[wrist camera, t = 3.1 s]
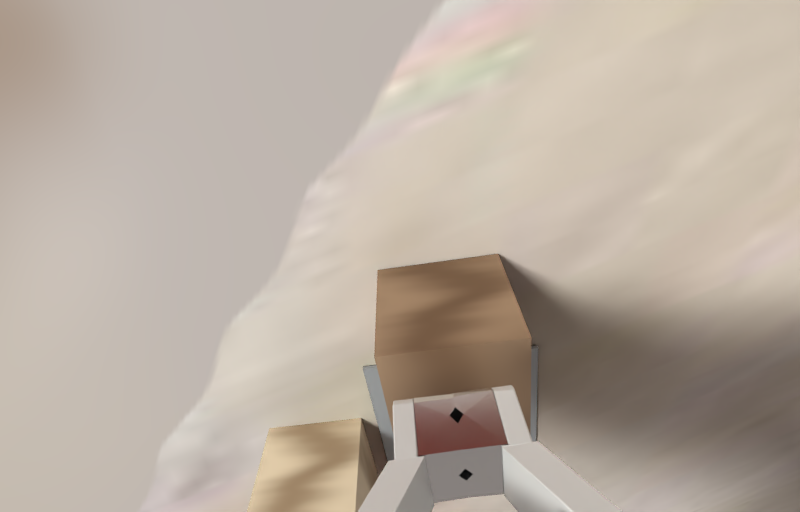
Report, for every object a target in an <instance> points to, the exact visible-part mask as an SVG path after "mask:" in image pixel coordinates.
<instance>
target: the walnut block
mask: <svg viewBox="0 0 800 512" xmlns="http://www.w3.org/2000/svg"><path fill="white" fill-rule="evenodd" d="M531 341H532V337H531V335H530V332H529V330H528V327H527V325H526V322H525V320H524V317H523V315H522V312H521V310H520V307H519V305H518V302H517V300H516V297H515V295H514V292H513V290H512V287H511V285H510V282H509V280H508V277H507V274H506V272H505V269H504V267H503V264H502V262H501V259H500V257H499V254H494V255H486V256H479V257H472V258H464V259H457V260H450V261H442V262H435V263H427V264H420V265H413V266H405V267H398V268H390V269H383V270H378V277H377V303H376V329H375V355H374V357H375V361H376V365H377V370H378V374H379V378H380V382H381V386H382V390H383V394H384V398H385V402H386V406H387V410H388V414H389V418H390V422H391V426H392V430H393V401H396V400H404V399H412V398H413V399H414V398H420V397H429V396H438V395H447V394H452V393H457V392H464V391H471V390H477V389H484V388H493V387H500V386H508V385H512V386H513V387H514V389H515V392H516V395H517V398H518V401H519V403H520V406H521V409H522V412H523V415H524V418H525V421H526V424H527V427H528V430H529V432H530V426H531Z"/></svg>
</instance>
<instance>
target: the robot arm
mask: <svg viewBox="0 0 800 512" xmlns="http://www.w3.org/2000/svg"><path fill="white" fill-rule="evenodd" d="M393 435H394V460H390V461H388V462H387V464H386V466H385V467H384V469H383V471H382V472H381V474H380V476H379V477H378V479H377V480H376V482H375V484H374V485H373V487H372V489H371V490H370V492H369V494H368V495H367V497H366V499H365V500H364V502H363V504H362V505H361V507H360V509H359V510H358V512H432V509H433V507H434V503H436V502H442V501H448V500H455V499H461V498H468V496H469V497H478V496H488V495H498V494H504V496H505V497H506V498H507V499H508V501H509V502H510V503H511V504H512V505H513V506H514V508H515V509H516V510H517V511H518V512H623V511H622V510H621V509H619V508H618V507H617V506H616V505H615V504H613V503H612V502H611V501H610V500H609V499H607V498H606V497H605V496H604V495H603V494H601V493H600V492H599V491H598V490H597V489H596V488H594V487H593V486H592V485H591V484H590V483H588V482H587V481H586V480H585V479H584V478H582V477H581V476H580V475H579V474H578V473H576V472H575V471H574V470H573V469H572V468H570V467H569V466H568V465H567V464H566V463H564V462H563V461H562V460H561V459H560V458H559V457H557V456H556V455H555V454H554V453H553V452H551V451H550V450H549V449H548V448H547V447H545V446H544V445H543V444H542V443H541V442H539V441H535V442H533V441H532V438H531V435H530V432H529V430H528V427H527V424H526V421H525V418H524V415H523V412H522V409H521V406H520V403H519V401H518V398H517V395H516V392H515V389H514V387H513V386H512V385H508V386H500V387H493V388H484V389H477V390H471V391H464V392H457V393H452V394H447V395H438V396H429V397H420V398H414V399H413V398H412V399H404V400H396V401H393Z"/></svg>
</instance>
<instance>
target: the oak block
mask: <svg viewBox="0 0 800 512" xmlns="http://www.w3.org/2000/svg"><path fill="white" fill-rule="evenodd" d="M377 474H378V473H377V470H376V466H375V463H374V459H373V456H372V453H371V449H370V446H369V443H368V439H367V436H366V433H365V429H364V426H363V423H362V419H361V418H357V419H349V420H340V421H331V422H322V423H314V424H305V425H296V426H287V427H279V428H270V429H269V432H268V435H267V439H266V443H265V447H264V450H263V454H262V458H261V462H260V465H259V469H258V473H257V477H256V480H255V484H254V488H253V492H252V495H251V499H250V503H249V507H248V510H247V512H358V510H359V509H360V507H361V505H362V504H363V502H364V500H365V499H366V497H367V495H368V494H369V492H370V490H371V489H372V487H373V485H374V484H375V482H376V480H377Z"/></svg>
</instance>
